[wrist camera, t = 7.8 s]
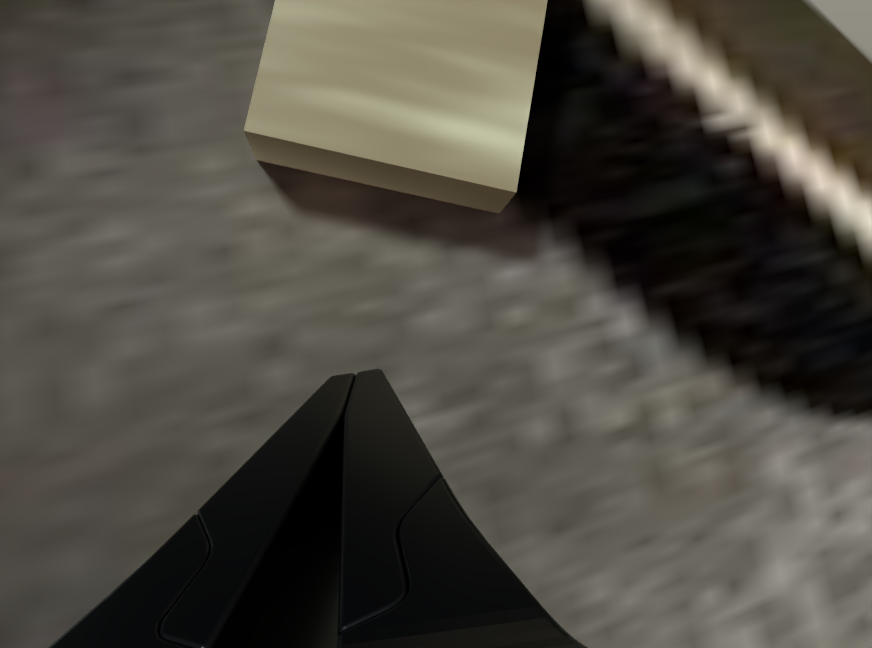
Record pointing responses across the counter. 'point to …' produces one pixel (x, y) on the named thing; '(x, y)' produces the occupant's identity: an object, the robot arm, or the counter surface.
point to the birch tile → (400, 94)
